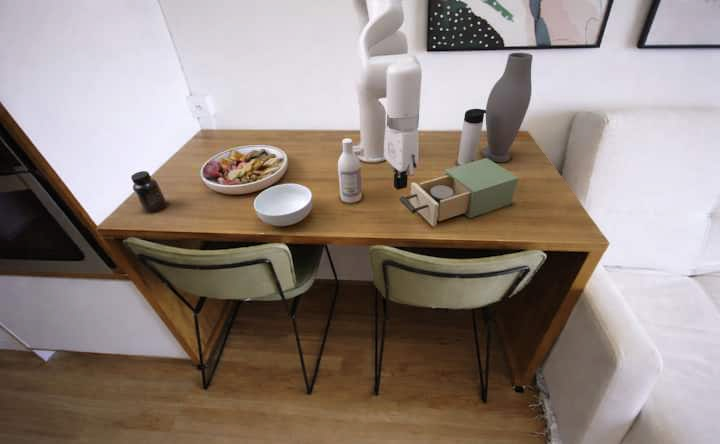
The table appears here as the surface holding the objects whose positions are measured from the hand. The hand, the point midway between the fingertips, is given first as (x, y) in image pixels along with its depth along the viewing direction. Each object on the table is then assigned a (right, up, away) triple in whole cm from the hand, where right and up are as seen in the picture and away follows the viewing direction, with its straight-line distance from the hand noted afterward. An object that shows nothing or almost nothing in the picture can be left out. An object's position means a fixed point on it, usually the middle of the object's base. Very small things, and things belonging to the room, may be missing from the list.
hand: (400, 187), depth 91 cm
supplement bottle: (-78, -4, +21) cm, 81 cm away
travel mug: (+28, +12, +34) cm, 46 cm away
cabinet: (+26, -2, +16) cm, 31 cm away
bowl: (-52, +7, +34) cm, 62 cm away
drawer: (+11, -6, +11) cm, 17 cm away
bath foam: (-14, -2, +20) cm, 24 cm away
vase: (+41, +16, +38) cm, 58 cm away
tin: (+13, -4, +11) cm, 18 cm away
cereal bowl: (-33, -8, +13) cm, 37 cm away
